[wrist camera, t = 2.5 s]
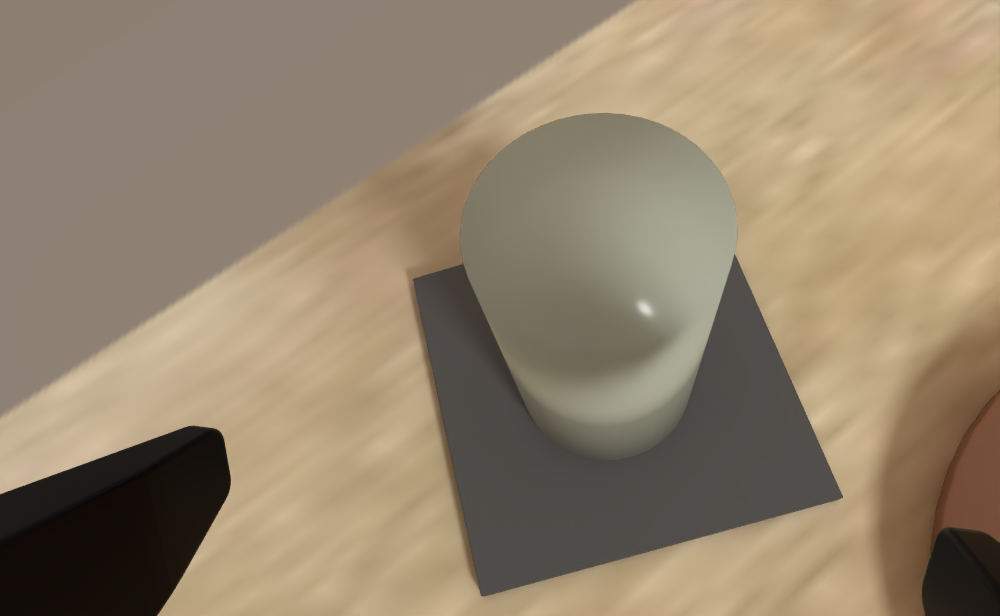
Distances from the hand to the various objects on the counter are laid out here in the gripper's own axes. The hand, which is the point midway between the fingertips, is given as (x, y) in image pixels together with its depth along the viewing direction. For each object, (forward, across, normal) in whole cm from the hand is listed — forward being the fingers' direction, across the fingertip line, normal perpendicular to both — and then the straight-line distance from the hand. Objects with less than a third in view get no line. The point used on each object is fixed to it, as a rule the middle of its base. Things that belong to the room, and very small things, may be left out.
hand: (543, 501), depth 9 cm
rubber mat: (+12, 0, +5) cm, 13 cm away
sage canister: (+12, 0, +4) cm, 12 cm away
